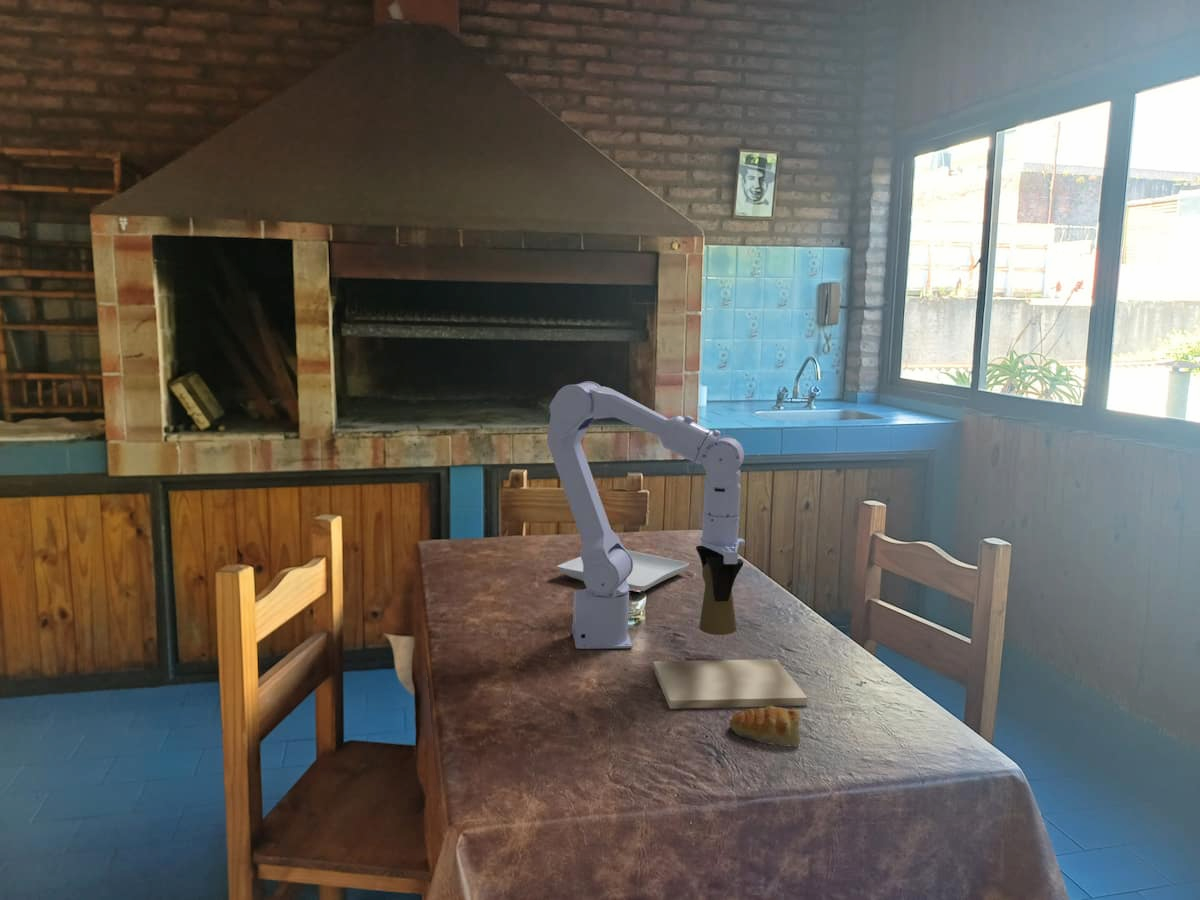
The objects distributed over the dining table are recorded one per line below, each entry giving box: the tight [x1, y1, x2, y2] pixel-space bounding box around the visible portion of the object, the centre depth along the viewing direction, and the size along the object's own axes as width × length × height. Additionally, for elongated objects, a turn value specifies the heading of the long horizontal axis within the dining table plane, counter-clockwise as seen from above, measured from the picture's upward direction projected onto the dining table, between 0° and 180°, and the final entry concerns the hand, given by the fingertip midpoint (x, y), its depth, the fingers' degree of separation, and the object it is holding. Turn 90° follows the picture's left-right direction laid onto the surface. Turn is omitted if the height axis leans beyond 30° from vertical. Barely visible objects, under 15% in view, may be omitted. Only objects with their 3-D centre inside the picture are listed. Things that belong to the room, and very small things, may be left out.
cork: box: [699, 563, 738, 636], centre depth 139 cm, size 6×6×11 cm
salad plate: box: [556, 549, 690, 592], centre depth 182 cm, size 21×21×3 cm
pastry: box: [729, 706, 802, 747], centre depth 114 cm, size 9×7×4 cm
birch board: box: [652, 658, 808, 710], centre depth 128 cm, size 20×14×1 cm
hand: (716, 595), depth 138 cm, fingers closed on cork, 5 cm apart
